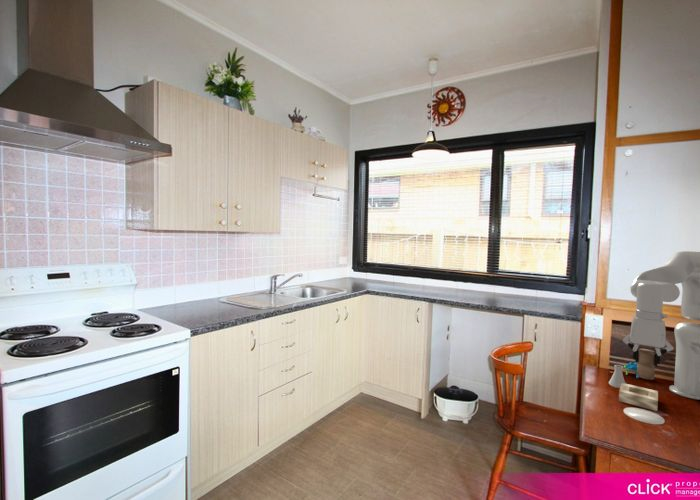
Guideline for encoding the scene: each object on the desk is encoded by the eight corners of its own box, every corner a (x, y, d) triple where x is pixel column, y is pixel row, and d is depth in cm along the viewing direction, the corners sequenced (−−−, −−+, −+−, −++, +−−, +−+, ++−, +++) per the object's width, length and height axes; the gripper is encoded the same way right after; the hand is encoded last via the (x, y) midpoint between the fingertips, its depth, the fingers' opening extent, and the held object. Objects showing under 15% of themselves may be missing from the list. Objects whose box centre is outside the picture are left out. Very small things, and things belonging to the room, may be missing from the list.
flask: (620, 384, 164) (621, 363, 164) (631, 391, 157) (632, 369, 156) (604, 383, 165) (605, 362, 164) (614, 390, 158) (615, 368, 157)
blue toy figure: (655, 375, 172) (648, 363, 169) (653, 385, 169) (646, 373, 166) (628, 370, 181) (621, 359, 178) (626, 380, 179) (618, 369, 175)
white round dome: (644, 410, 139) (644, 407, 139) (673, 426, 127) (673, 423, 127) (615, 410, 139) (615, 407, 139) (642, 427, 127) (642, 423, 127)
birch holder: (657, 402, 146) (658, 391, 146) (657, 413, 137) (657, 400, 137) (621, 393, 154) (621, 382, 154) (618, 403, 145) (619, 391, 145)
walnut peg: (645, 374, 135) (647, 348, 135) (657, 379, 130) (659, 353, 130) (633, 374, 135) (634, 348, 134) (645, 379, 130) (646, 353, 129)
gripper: (679, 317, 129) (676, 366, 129) (620, 310, 140) (618, 355, 141) (680, 321, 123) (677, 372, 124) (619, 313, 134) (616, 360, 135)
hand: (646, 362), depth 132 cm, fingers closed on walnut peg, 5 cm apart
